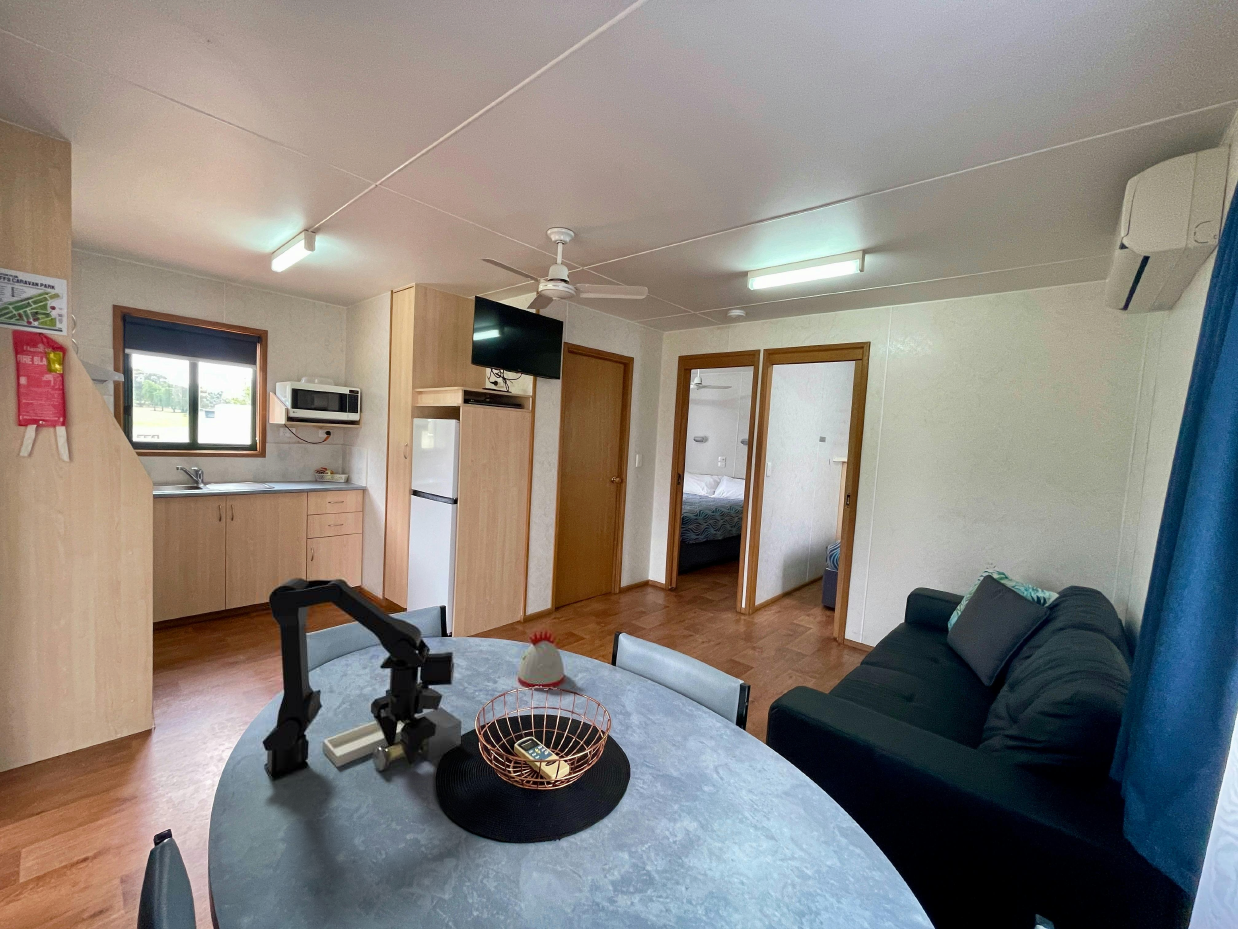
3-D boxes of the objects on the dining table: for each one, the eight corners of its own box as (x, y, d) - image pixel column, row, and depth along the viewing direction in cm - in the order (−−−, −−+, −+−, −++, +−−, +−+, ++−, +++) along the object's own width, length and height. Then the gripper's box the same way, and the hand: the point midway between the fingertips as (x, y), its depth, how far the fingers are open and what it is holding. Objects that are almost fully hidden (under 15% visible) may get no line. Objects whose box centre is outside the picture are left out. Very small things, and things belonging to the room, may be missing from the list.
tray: (337, 767, 108) (337, 756, 108) (322, 750, 113) (323, 740, 113) (414, 735, 121) (414, 725, 121) (398, 721, 126) (398, 712, 126)
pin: (381, 775, 106) (382, 753, 106) (372, 765, 109) (373, 744, 109) (439, 749, 116) (440, 729, 116) (429, 740, 119) (430, 721, 119)
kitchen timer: (513, 672, 157) (515, 624, 157) (555, 666, 163) (558, 620, 162) (524, 693, 144) (527, 641, 144) (570, 685, 150) (572, 636, 150)
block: (428, 761, 111) (429, 735, 111) (408, 743, 117) (409, 719, 117) (460, 746, 118) (461, 721, 117) (440, 730, 123) (441, 707, 123)
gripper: (459, 688, 111) (456, 758, 111) (417, 661, 123) (415, 724, 124) (411, 706, 102) (407, 781, 103) (370, 675, 115) (368, 743, 115)
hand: (401, 755), depth 111 cm, fingers open, 9 cm apart
